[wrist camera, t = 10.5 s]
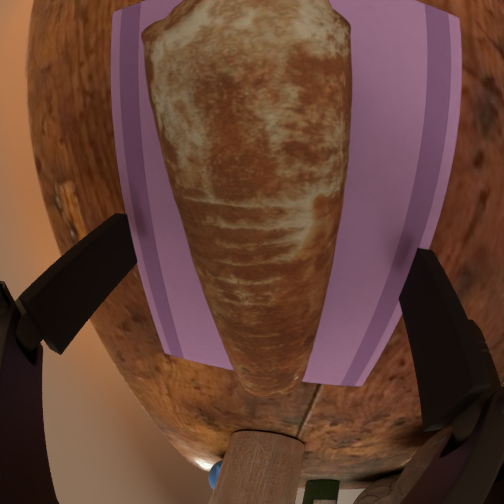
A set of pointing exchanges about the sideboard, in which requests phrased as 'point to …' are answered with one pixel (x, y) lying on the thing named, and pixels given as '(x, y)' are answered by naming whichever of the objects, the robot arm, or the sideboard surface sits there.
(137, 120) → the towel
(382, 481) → the decorative sphere
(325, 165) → the brown tapered rod
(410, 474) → the bowl
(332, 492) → the wine bottle
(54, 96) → the sideboard surface
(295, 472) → the planter
